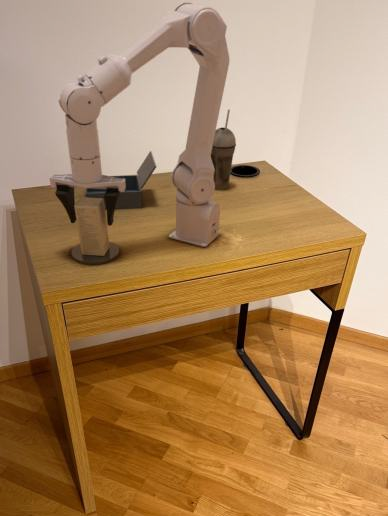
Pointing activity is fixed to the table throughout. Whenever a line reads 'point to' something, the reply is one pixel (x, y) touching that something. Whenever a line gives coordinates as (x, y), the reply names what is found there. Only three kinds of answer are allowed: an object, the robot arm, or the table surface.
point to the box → (92, 226)
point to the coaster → (95, 259)
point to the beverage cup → (223, 155)
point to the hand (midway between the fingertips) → (92, 222)
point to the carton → (122, 193)
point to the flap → (146, 169)
